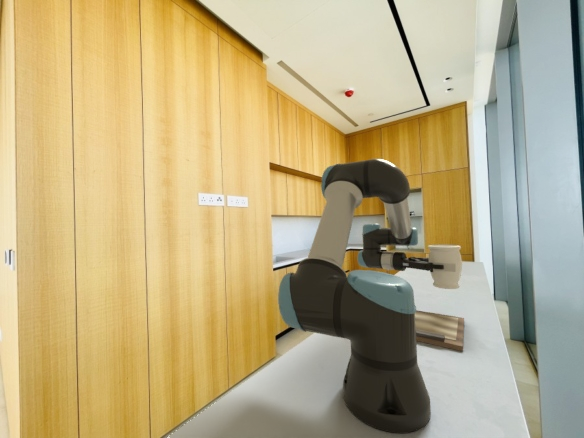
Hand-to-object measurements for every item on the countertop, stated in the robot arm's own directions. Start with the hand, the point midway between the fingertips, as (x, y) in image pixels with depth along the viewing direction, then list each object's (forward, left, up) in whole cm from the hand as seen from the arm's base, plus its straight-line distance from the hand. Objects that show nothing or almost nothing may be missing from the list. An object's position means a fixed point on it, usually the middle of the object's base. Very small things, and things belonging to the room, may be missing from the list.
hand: (458, 265), depth 87 cm
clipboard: (-20, 0, -17) cm, 26 cm away
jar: (-1, +4, -8) cm, 9 cm away
